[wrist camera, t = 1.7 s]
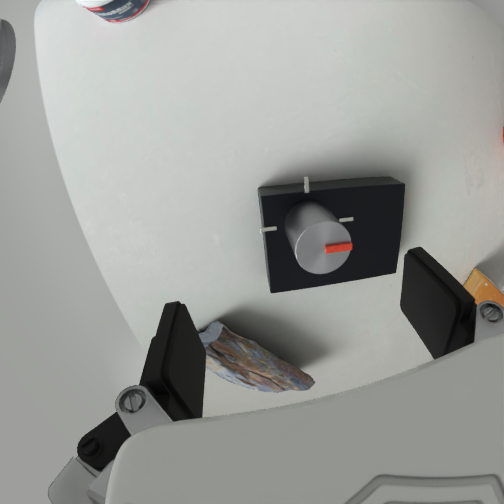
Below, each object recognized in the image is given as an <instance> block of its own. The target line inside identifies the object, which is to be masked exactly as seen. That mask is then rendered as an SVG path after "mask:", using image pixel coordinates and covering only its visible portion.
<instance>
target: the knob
mask: <svg viewBox="0 0 504 504" xmlns="http://www.w3.org/2000/svg"><path fill="white" fill-rule="evenodd" d="M284 228H285V232H286V235H287V237H288V240H289V242H290V244H291V247H292V249H293V252H294V254H295V257H296V259H297V261H298V263H299V265H300V266H301V267H302V268H303V269H305V270H306V271H308V272H310V273H314V274H325V273H329V272H332V271H334V270H336V269H337V268H339V267H340V266H341V265H342V264H343V263H344V262H345V261H346V259H347V258H348V256H349V253H350V250H352V242H351V237H350V235H349V232H348V231H347V229H346V228H345V227H344V226H343V225H342V224H341V223H340V222H339V220H338V219H337V218H336V217H335V216H334V215H333V214H332V213H331V212H330V210H329V209H328V208H327V207H326V206H325V205H323V204H322V203H320V202H317V201H313V200H307V201H303V202H300V203H298V204H296V205H295V206H294V207H292V208H291V209H290V211H289V212H288V214H287V216H286V218H285V223H284Z"/></svg>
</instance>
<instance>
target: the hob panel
mask: <svg viewBox="0 0 504 504" xmlns="http://www.w3.org/2000/svg"><path fill="white" fill-rule="evenodd" d="M404 193H405V184H404V183H402V182H400V181H398V180H396V179H394V178H392V177H371V178H355V179H341V180H329V181H317V182H309V180H308V177H304V183H296V184H287V185H278V186H269V187H261V188H258V196H259V205H260V213H261V222H262V228H260V229H261V232H263V240H264V249H265V259H266V268H267V277H268V282H269V287H270V292H271V293H277V292H284V291H291V290H298V289H305V288H311V287H318V286H324V285H330V284H336V283H342V282H348V281H354V280H360V279H365V278H371V277H377V276H382V275H387V274H393V273H396V269H397V262H398V255H399V248H400V239H401V230H402V220H403V208H404ZM307 200H313V201H317V202H320V203H322V204H323V205H325V206H326V207H327V208H328V209H329V210H330V212H331V213H332V214H333V215H334V216H335V217H336V218H337V219H338V220H339V222H340V223H341V224H342V225H343V226H344V227H345V228H346V229H347V231H348V232H349V235H350V237H351V242H352V250H350V253H349V256H348V258H347V259H346V261H345V262H344V263H343V264H342V265H341V266H340V267H339V268H337V269H336V270H334V271H332V272H329V273H325V274H314V273H310V272H308V271H306V270H305V269H303V268H302V267H301V266H300V265H299V263H298V261H297V259H296V257H295V254H294V252H293V249H292V247H291V244H290V242H289V240H288V237H287V235H286V232H285V228H284V223H285V218H286V216H287V214H288V212H289V211H290V209H291V208H292V207H294V206H295V205H296V204H298V203H300V202H303V201H307Z"/></svg>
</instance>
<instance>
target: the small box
mask: <svg viewBox="0 0 504 504" xmlns="http://www.w3.org/2000/svg"><path fill="white" fill-rule="evenodd" d="M463 287H464V288H465V289H466V290H467V291H468V292H469V293H470V294H471V295H472V296H473V297H474V298H475V303H476V304H477V305H478V304H479V303H480V302H482V301H486V300H490V301H495V302H497V303H499V304H500V305H501V306H502V307H503V308H504V292H503V291H502V290H501V289H500V288H499V287H498V286H497V285H496V284H495V283H493V282H492V281H491V280H490V279H489V278H488V277H487V276H485V275H484V274H483V273H482V272H481V271H479V270H478V269H477V268H474V270H473V272H472V273H471V275H470V276H469V278H468V280H467V281H466V283H465V284H464V285H463Z"/></svg>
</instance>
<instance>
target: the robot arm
mask: <svg viewBox="0 0 504 504" xmlns="http://www.w3.org/2000/svg"><path fill="white" fill-rule="evenodd" d="M400 306H401V310H402V312H403V313H404V314H405V316H406V317H407V319H408V320H409V322H410V323H411V325H412V326H413V328H414V329H415V330H416V332H417V333H418V335H419V336H420V338H421V339H422V341H423V343H424V344H425V346H426V347H427V349H428V350H429V352H430V353H431V355H432V357H433V358H434V360H433V361H430V362H428V363H426V364H423V365H421V366H418V367H416V368H413V369H411V370H408V371H405V372H403V373H400V374H397V375H394V376H392V377H389V378H386V379H383V380H380V381H377V382H374V383H371V384H368V385H364V386H361V387H358V388H354V389H351V390H348V391H344V392H340V393H337V394H333V395H329V396H325V397H321V398H317V399H313V400H309V401H304V402H300V403H295V404H290V405H285V406H280V407H275V408H269V409H263V410H257V411H251V412H244V413H237V414H230V415H222V416H214V417H204V418H202V412H203V396H204V382H205V369H206V350H205V347H204V345H203V343H202V341H201V339H200V337H199V334H198V332H197V330H196V328H195V326H194V323H193V321H192V319H191V317H190V314H189V312H188V310H187V307H186V305H185V304H181V303H180V302H179V301H176V302H171V303H166V304H165V306H164V309H163V312H162V316H161V319H160V322H159V326H158V329H157V333H156V336H154V337H153V338H152V340H151V344H150V347H149V351H148V354H147V358H146V361H145V365H144V369H143V372H142V376H141V380H140V384H139V385H133V386H130V387H128V388H126V389H124V390H123V391H122V392H121V393H120V394H119V395H118V397H117V399H116V402H115V408H116V411H117V412H116V413H114V414H113V415H112V416H110V417H109V418H107V419H106V420H105V421H103V422H102V423H101V424H99V425H98V426H97V427H95V428H94V429H93V430H91V431H90V432H88V433H87V434H86V435H84V436H83V437H82V438H81V440H80V442H79V443H78V447H77V453H78V456H77V458H74V457H72V459H71V460H70V461H69V462H68V464H67V465H66V466H65V467H64V469H63V470H62V471H61V472H60V473H59V475H58V476H57V477H56V479H55V480H54V481H53V482H52V483H51V485H50V487H49V489H48V497H49V499H50V501H51V503H52V504H504V308H503V307H502V306H501V305H500V304H499V303H497V302H495V301H490V300H486V301H482V302H480V303H479V304H478V305H477V304H476V303H475V298H474V297H473V296H472V295H471V294H470V293H469V292H468V291H467V290H466V289H465V288H464V287H463V286H462V285H461V284H460V283H459V282H458V281H457V280H456V279H455V278H454V277H453V276H452V275H451V274H450V273H449V272H448V271H447V270H446V269H445V268H444V267H443V266H442V265H440V264H439V263H438V262H437V261H436V260H435V259H434V258H433V257H432V256H431V255H430V254H428V253H427V252H426V251H425V250H424V249H423V248H422V247H416V248H413V249H409V250H408V252H407V254H405V256H404V270H403V281H402V292H401V301H400Z"/></svg>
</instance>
